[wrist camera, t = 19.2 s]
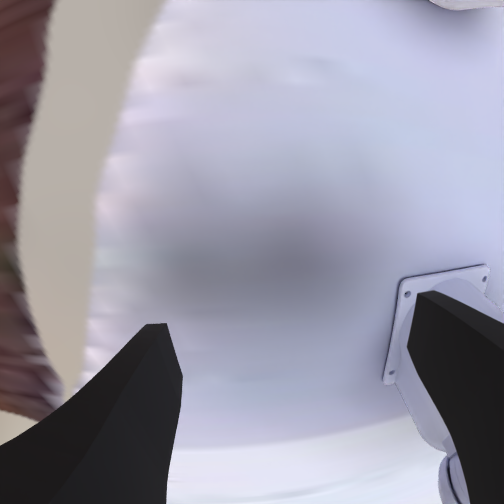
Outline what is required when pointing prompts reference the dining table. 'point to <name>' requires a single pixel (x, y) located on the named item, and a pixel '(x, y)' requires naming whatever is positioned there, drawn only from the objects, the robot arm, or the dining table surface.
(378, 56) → the dining table surface
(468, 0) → the cup
